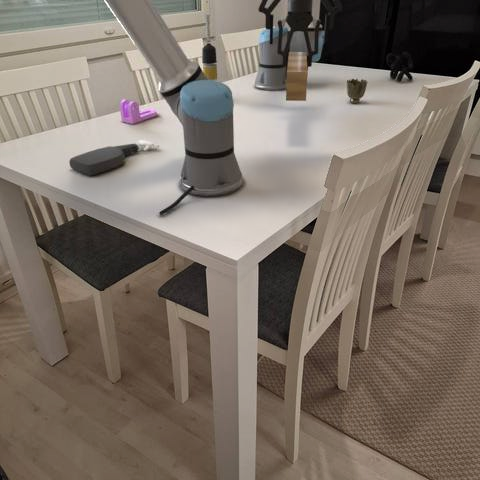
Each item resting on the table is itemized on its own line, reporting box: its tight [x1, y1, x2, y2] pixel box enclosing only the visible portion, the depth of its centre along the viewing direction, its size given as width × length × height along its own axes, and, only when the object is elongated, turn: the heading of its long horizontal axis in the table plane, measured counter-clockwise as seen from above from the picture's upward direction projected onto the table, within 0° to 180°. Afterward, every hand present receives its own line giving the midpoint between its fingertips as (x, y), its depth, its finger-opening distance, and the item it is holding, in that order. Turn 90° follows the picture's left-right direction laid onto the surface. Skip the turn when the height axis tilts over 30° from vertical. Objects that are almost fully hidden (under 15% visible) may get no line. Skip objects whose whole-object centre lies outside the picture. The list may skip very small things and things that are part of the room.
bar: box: [285, 52, 309, 102], centre depth 136 cm, size 30×6×8 cm, turn 174°
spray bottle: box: [68, 139, 160, 177], centre depth 124 cm, size 3×11×24 cm
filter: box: [201, 14, 218, 81], centre depth 171 cm, size 6×6×30 cm
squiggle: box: [385, 51, 414, 83], centre depth 198 cm, size 11×10×15 cm
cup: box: [346, 78, 368, 104], centre depth 168 cm, size 8×7×8 cm
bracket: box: [118, 99, 158, 125], centre depth 156 cm, size 13×6×7 cm, turn 143°
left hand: (298, 43), depth 113 cm, fingers open, 13 cm apart
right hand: (296, 76), depth 148 cm, fingers closed on bar, 6 cm apart
